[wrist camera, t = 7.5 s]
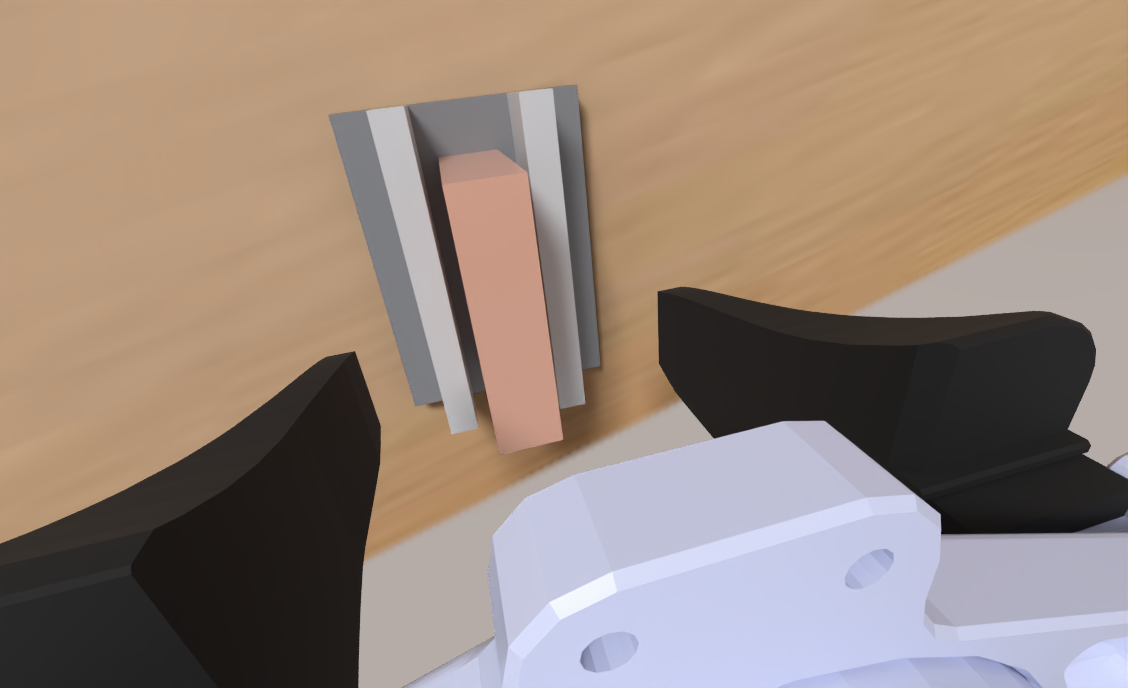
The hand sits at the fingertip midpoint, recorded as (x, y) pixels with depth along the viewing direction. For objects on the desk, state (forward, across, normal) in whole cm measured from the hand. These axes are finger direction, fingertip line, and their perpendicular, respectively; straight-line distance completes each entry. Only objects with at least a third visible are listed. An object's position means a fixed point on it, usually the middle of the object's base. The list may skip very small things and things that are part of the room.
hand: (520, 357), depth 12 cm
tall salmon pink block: (+8, 0, 0) cm, 8 cm away
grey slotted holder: (+9, 0, 0) cm, 9 cm away
